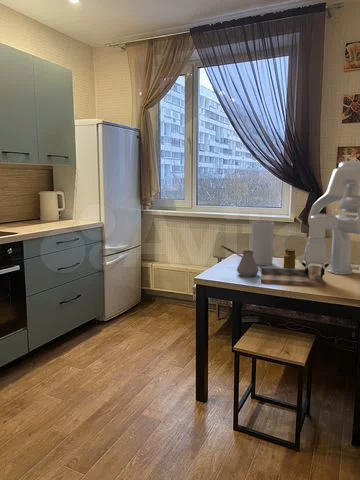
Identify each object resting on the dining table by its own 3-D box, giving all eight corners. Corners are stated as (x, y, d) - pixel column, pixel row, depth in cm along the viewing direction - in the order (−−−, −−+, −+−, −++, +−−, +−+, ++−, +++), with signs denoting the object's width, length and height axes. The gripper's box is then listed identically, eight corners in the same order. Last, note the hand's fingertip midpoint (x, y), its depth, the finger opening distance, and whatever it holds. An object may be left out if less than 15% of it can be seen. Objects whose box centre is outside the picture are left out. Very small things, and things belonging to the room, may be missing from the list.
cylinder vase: (249, 264, 218) (250, 223, 214) (253, 260, 230) (254, 220, 225) (270, 266, 214) (272, 224, 209) (273, 261, 225) (275, 221, 220)
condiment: (280, 269, 208) (281, 248, 205) (294, 268, 209) (295, 248, 207) (286, 273, 201) (287, 251, 198) (300, 272, 202) (302, 250, 200)
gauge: (318, 276, 186) (319, 265, 185) (321, 282, 177) (322, 270, 176) (308, 276, 187) (308, 264, 186) (310, 281, 178) (311, 269, 177)
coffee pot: (260, 273, 200) (261, 246, 197) (255, 279, 190) (255, 250, 187) (223, 269, 209) (224, 243, 206) (216, 274, 199) (216, 247, 196)
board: (321, 279, 188) (321, 270, 187) (324, 286, 176) (325, 276, 175) (261, 276, 194) (261, 267, 193) (260, 283, 183) (261, 273, 182)
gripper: (333, 239, 182) (331, 274, 185) (297, 238, 186) (295, 272, 189) (336, 242, 175) (334, 278, 178) (298, 241, 179) (296, 276, 182)
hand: (314, 275), depth 184 cm, fingers open, 6 cm apart
